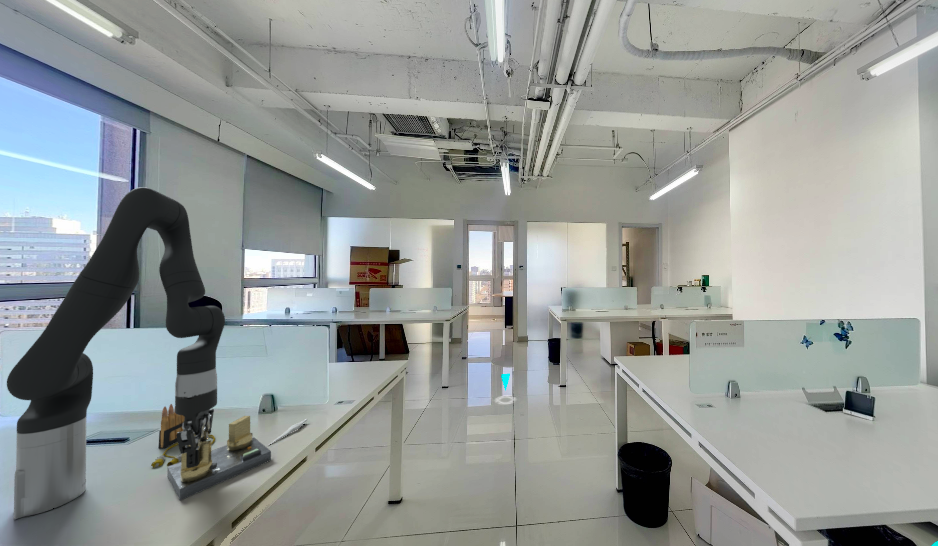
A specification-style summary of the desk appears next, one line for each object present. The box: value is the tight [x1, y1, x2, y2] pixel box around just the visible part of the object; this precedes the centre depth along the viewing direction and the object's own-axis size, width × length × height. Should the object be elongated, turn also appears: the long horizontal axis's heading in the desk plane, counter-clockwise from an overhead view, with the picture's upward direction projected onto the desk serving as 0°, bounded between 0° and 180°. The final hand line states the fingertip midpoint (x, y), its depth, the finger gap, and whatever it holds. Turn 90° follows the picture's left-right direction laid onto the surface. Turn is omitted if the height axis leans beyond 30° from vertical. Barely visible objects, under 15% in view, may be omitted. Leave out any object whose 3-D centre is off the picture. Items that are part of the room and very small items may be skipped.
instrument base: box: [167, 435, 272, 501], centre depth 78 cm, size 18×14×4 cm
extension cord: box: [150, 434, 216, 468], centre depth 86 cm, size 12×16×2 cm
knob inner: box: [180, 439, 217, 482], centre depth 72 cm, size 6×6×7 cm
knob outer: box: [226, 415, 253, 451], centre depth 84 cm, size 6×6×7 cm
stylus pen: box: [268, 418, 308, 446], centre depth 95 cm, size 15×3×2 cm, turn 166°
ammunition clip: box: [158, 403, 185, 449], centre depth 93 cm, size 11×2×12 cm, turn 176°
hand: (196, 461), depth 71 cm, fingers open, 3 cm apart
